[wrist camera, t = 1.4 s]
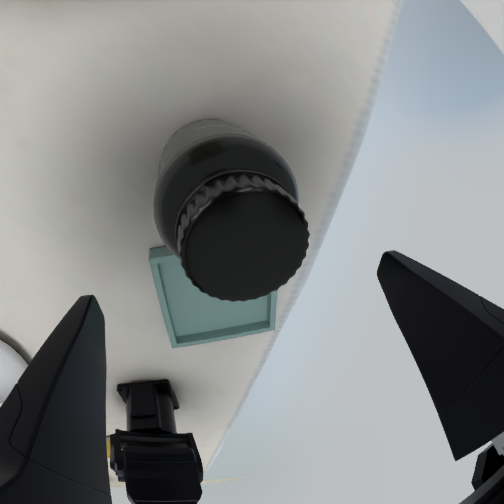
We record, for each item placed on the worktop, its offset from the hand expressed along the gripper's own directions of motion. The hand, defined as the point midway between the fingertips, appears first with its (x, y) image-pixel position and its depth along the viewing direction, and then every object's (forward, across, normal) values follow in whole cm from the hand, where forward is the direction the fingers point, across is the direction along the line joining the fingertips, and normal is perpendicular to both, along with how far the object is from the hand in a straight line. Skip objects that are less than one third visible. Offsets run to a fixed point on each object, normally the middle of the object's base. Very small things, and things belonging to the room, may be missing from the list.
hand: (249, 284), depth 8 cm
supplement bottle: (+14, 0, +2) cm, 14 cm away
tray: (+13, 0, +12) cm, 18 cm away
